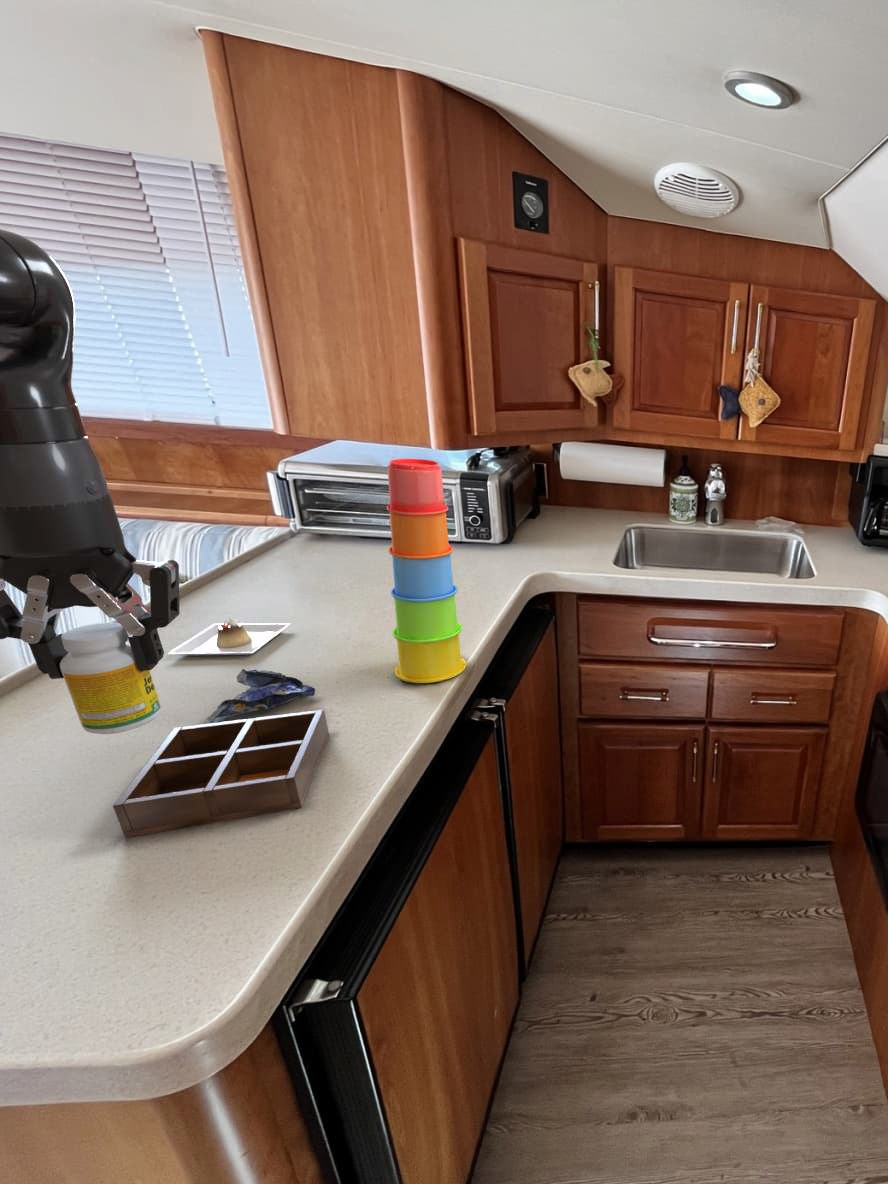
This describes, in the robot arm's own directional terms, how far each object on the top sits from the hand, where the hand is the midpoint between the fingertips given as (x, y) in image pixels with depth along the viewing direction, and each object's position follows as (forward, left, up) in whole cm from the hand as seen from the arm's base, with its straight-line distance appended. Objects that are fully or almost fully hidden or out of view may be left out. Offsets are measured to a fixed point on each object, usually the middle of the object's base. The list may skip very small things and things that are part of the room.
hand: (106, 670), depth 59 cm
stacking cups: (+22, +35, -22) cm, 47 cm away
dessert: (-9, +54, -22) cm, 59 cm away
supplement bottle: (0, 0, -6) cm, 6 cm away
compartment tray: (+3, +11, -21) cm, 24 cm away
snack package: (+1, +30, -22) cm, 37 cm away
